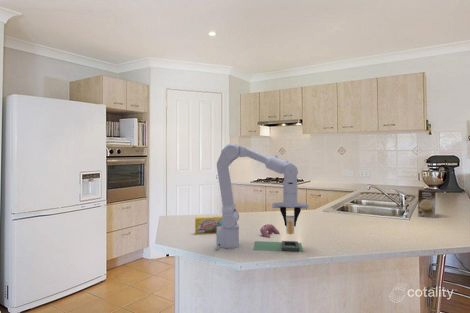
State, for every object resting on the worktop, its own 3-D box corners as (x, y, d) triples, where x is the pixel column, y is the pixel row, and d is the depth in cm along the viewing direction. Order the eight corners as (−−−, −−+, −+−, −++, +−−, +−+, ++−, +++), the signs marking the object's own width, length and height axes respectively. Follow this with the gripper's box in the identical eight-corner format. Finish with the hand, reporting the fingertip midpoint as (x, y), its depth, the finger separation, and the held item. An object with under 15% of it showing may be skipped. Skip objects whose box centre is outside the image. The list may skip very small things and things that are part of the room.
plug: (286, 234, 124) (286, 218, 124) (286, 231, 129) (286, 215, 129) (294, 234, 124) (294, 218, 124) (293, 231, 129) (293, 215, 128)
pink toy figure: (273, 237, 151) (268, 223, 153) (281, 234, 149) (275, 221, 151) (262, 242, 144) (257, 227, 146) (270, 239, 141) (264, 224, 143)
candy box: (195, 235, 151) (195, 218, 151) (195, 233, 153) (195, 217, 153) (227, 233, 154) (227, 216, 154) (227, 231, 156) (227, 215, 156)
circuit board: (252, 252, 125) (252, 249, 125) (255, 243, 137) (255, 241, 137) (303, 254, 122) (303, 252, 122) (301, 245, 134) (301, 243, 134)
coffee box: (417, 216, 190) (417, 190, 189) (417, 214, 195) (418, 189, 195) (435, 218, 185) (435, 191, 184) (435, 216, 190) (435, 190, 190)
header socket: (281, 251, 123) (281, 247, 123) (281, 244, 132) (281, 240, 132) (299, 252, 122) (299, 248, 122) (297, 244, 131) (297, 241, 131)
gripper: (272, 194, 124) (272, 227, 124) (309, 194, 122) (309, 228, 122) (272, 191, 131) (272, 223, 131) (307, 192, 129) (307, 224, 129)
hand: (290, 225), depth 127 cm, fingers closed on plug, 3 cm apart
